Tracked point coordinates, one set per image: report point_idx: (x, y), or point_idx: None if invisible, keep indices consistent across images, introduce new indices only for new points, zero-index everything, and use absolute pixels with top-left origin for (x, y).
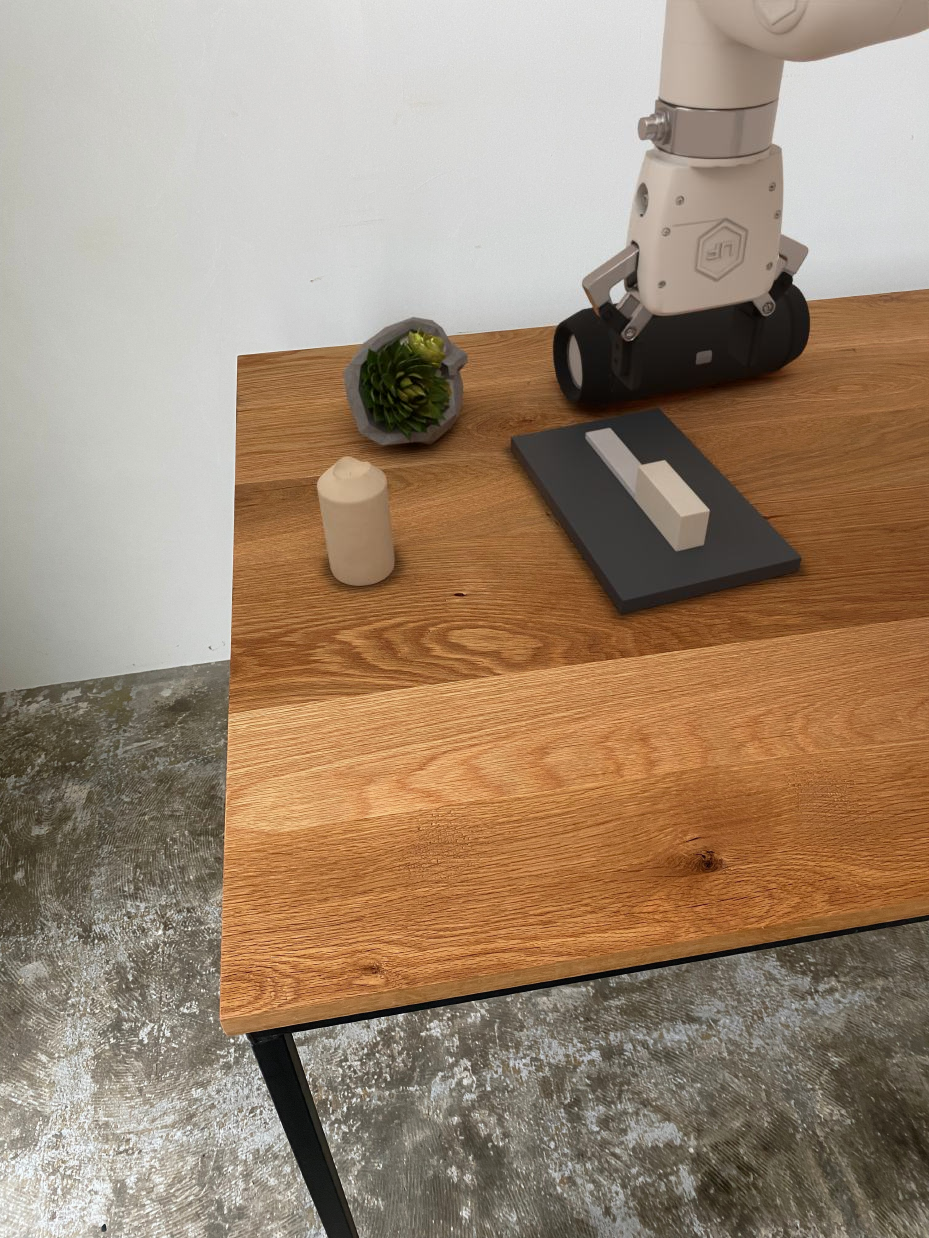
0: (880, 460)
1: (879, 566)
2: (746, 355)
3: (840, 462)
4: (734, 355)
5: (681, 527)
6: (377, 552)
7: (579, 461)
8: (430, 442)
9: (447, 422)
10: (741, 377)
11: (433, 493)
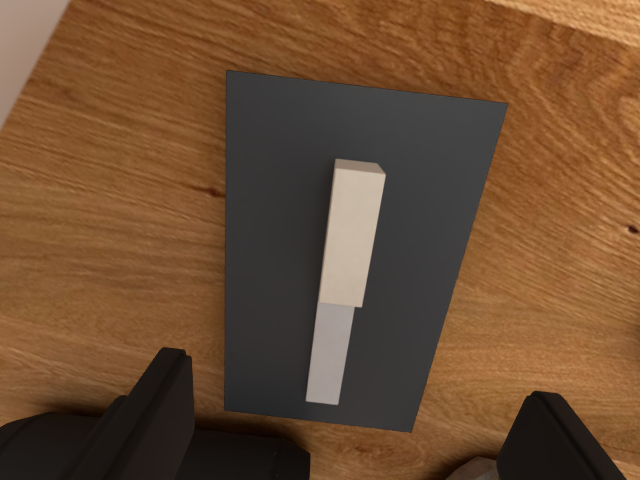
0: (9, 226)
1: (122, 29)
2: (176, 385)
3: (61, 244)
4: (191, 408)
5: (380, 169)
6: None
7: (370, 367)
8: (484, 458)
9: (471, 477)
10: (99, 418)
11: (529, 391)
